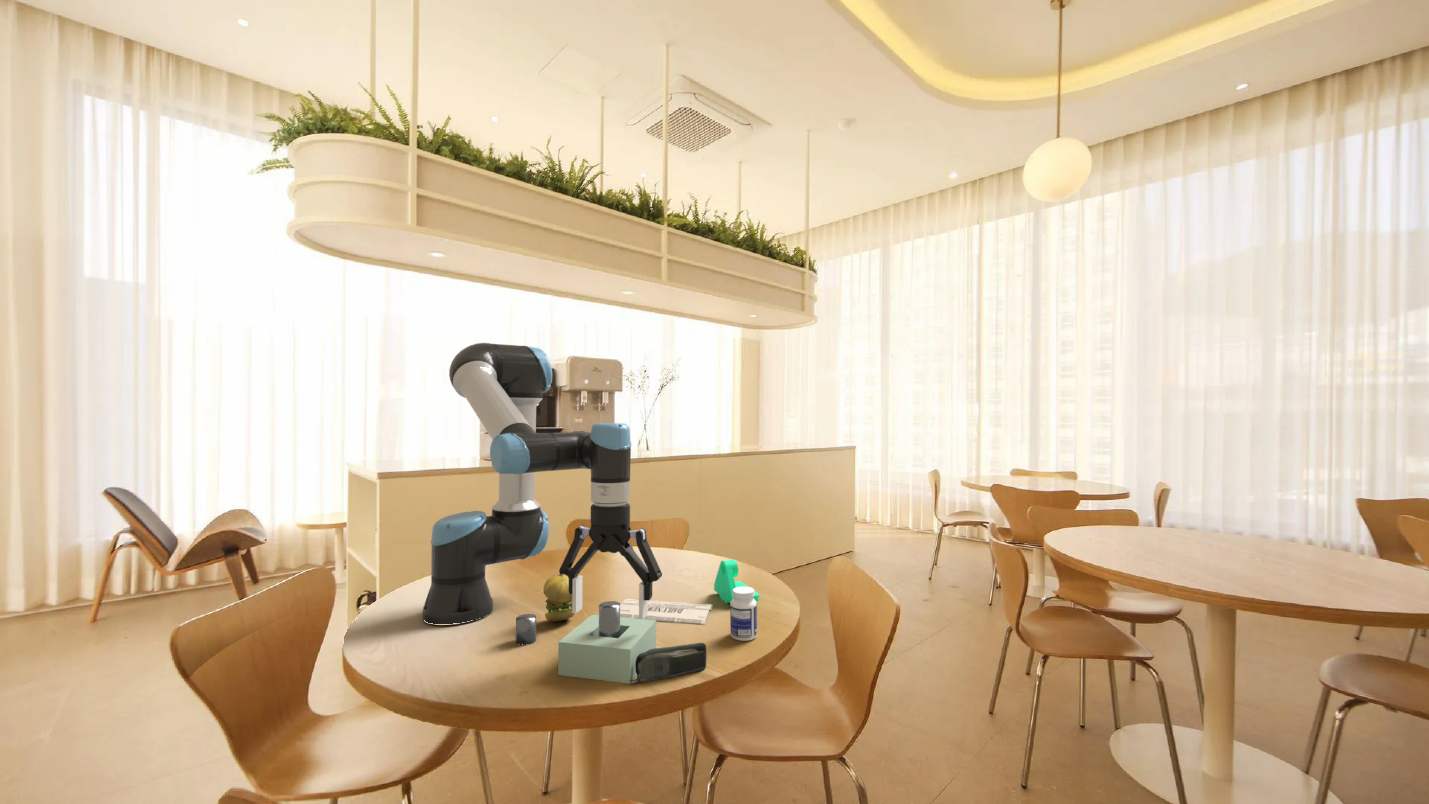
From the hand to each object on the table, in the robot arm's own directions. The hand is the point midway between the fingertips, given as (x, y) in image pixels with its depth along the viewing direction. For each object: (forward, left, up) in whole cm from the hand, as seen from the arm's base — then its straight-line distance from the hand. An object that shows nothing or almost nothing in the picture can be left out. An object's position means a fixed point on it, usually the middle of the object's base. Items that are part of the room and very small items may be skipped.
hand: (609, 613), depth 106 cm
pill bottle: (+23, +18, -9) cm, 31 cm away
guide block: (0, 0, -9) cm, 9 cm away
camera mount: (+17, +41, -10) cm, 45 cm away
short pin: (-21, +5, -9) cm, 24 cm away
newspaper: (+2, +28, -10) cm, 30 cm away
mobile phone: (+13, -2, -10) cm, 16 cm away
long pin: (0, 0, -9) cm, 9 cm away
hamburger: (-19, +16, -9) cm, 27 cm away
